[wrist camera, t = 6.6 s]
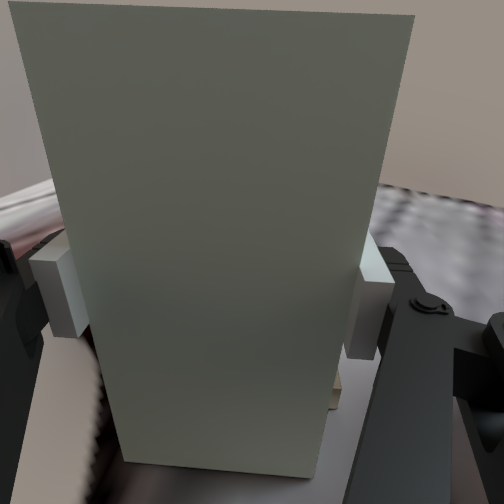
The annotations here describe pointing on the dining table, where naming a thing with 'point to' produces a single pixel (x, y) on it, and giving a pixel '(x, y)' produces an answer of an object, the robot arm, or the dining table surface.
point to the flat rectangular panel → (215, 210)
